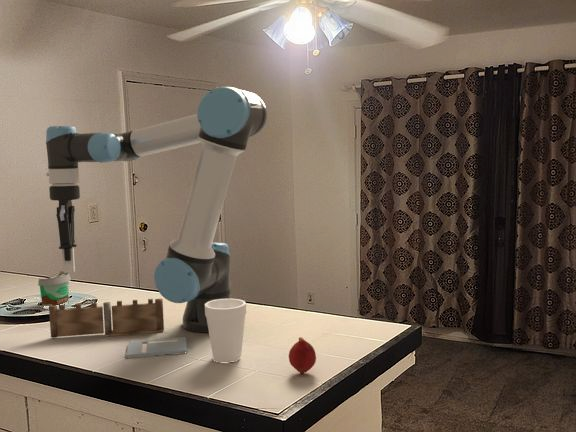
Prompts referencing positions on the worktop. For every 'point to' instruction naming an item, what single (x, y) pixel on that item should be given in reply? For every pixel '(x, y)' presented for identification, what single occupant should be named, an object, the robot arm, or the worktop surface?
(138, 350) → the card
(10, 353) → the worktop surface
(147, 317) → the fence fixed panel
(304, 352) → the onion
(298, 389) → the worktop surface
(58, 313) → the fence hinged panel
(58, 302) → the food container
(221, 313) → the foam cup
